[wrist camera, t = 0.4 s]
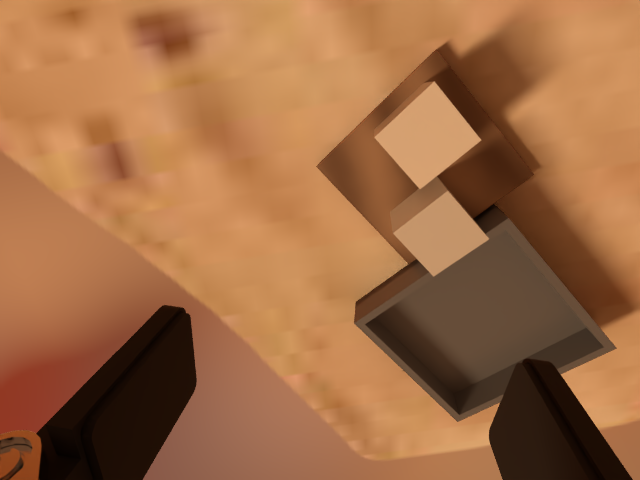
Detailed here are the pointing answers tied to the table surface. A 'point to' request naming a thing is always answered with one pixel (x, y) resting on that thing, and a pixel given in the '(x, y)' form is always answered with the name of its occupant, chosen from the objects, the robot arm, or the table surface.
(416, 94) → the peach cube
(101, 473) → the robot arm
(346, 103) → the table surface
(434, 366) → the charcoal bin
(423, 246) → the beige cube
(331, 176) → the walnut board
